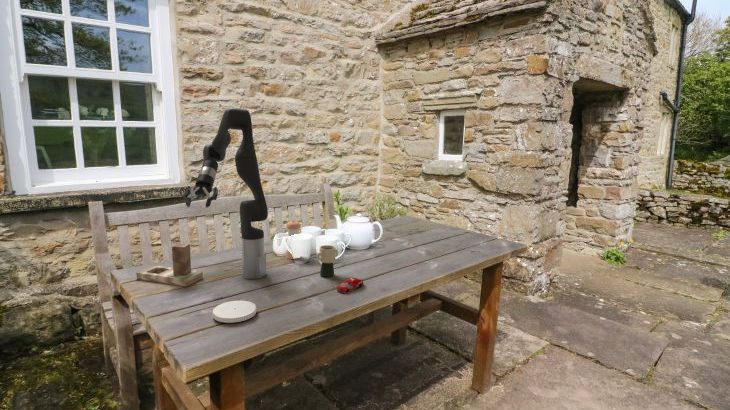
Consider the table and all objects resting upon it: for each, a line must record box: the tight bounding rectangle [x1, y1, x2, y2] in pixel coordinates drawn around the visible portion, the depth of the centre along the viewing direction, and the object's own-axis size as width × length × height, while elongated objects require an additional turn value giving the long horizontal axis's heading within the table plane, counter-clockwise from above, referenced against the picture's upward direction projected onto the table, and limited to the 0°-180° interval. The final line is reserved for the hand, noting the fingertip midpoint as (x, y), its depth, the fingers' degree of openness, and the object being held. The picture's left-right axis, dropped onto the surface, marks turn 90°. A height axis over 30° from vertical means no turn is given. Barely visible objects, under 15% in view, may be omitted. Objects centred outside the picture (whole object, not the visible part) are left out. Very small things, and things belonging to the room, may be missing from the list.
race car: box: [336, 277, 364, 294], centre depth 160 cm, size 13×5×4 cm, turn 139°
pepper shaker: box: [285, 219, 301, 260], centre depth 197 cm, size 7×7×19 cm
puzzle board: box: [135, 265, 204, 287], centre depth 164 cm, size 24×10×3 cm, turn 75°
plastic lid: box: [212, 300, 257, 324], centre depth 133 cm, size 14×14×2 cm
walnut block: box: [171, 243, 192, 276], centre depth 161 cm, size 5×5×12 cm
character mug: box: [316, 244, 339, 277], centre depth 173 cm, size 11×7×13 cm, turn 131°
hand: (197, 206), depth 177 cm, fingers open, 8 cm apart
